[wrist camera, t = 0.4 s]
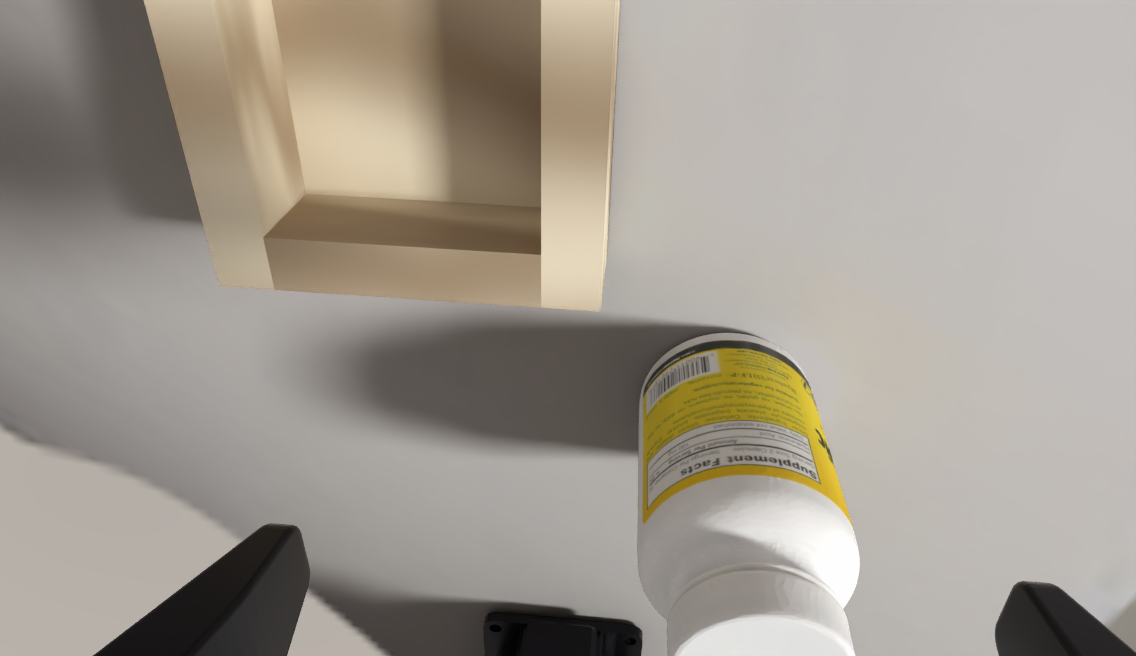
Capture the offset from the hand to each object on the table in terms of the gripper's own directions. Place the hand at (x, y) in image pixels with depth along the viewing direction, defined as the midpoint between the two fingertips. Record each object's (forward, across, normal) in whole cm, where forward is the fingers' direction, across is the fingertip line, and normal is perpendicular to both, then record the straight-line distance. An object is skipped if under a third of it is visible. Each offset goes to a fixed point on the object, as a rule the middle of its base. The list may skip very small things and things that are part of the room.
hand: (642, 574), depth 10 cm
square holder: (+13, +6, -3) cm, 15 cm away
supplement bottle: (+14, -3, +7) cm, 16 cm away
